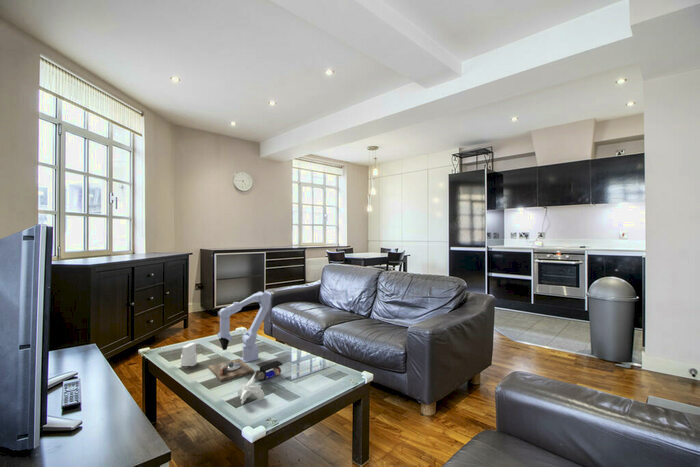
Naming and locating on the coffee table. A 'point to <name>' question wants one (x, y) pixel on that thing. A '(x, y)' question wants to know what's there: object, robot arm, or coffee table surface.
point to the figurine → (250, 390)
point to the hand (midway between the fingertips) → (224, 349)
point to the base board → (241, 371)
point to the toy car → (264, 368)
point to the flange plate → (229, 367)
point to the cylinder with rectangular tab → (189, 355)
